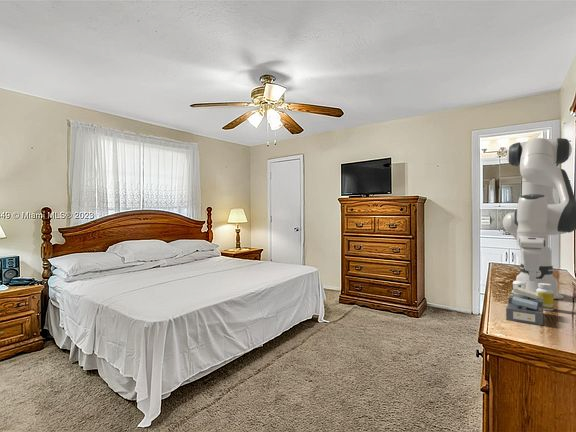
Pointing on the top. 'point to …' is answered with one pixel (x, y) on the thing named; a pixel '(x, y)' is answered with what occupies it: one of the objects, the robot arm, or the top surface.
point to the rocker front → (524, 302)
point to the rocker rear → (526, 292)
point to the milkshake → (519, 285)
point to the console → (525, 311)
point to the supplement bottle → (546, 295)
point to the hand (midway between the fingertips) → (532, 280)
